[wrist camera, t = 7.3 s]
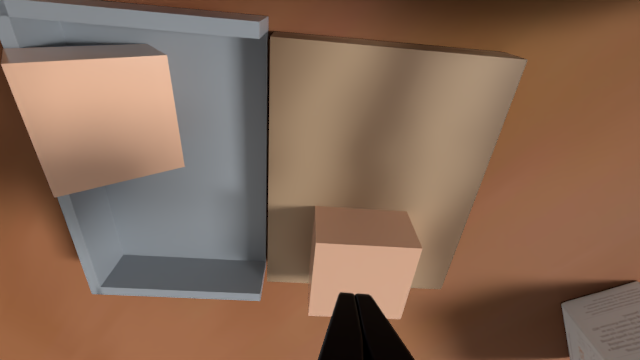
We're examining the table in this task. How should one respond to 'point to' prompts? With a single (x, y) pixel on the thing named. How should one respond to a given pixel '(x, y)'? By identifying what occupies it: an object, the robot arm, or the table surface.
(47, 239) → the table surface
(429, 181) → the board
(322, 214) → the peach square block
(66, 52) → the tile
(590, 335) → the small box
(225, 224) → the tray
